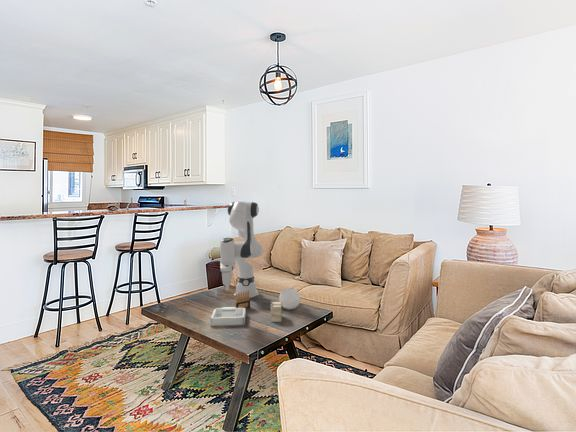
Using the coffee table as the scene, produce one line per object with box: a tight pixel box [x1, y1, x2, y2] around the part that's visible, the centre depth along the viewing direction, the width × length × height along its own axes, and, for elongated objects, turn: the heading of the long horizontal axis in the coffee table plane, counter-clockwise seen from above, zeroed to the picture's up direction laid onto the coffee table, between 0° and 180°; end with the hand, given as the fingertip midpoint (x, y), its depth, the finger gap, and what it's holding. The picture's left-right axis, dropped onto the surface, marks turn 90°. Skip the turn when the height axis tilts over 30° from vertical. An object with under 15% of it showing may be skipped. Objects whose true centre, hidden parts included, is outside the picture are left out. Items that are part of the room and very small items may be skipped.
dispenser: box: [270, 300, 282, 323], centre depth 212 cm, size 9×6×10 cm
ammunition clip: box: [234, 290, 251, 310], centre depth 231 cm, size 11×2×12 cm, turn 127°
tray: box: [210, 307, 247, 327], centre depth 210 cm, size 17×19×5 cm
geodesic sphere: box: [278, 287, 301, 311], centre depth 231 cm, size 15×14×14 cm
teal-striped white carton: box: [221, 306, 236, 317], centre depth 210 cm, size 3×8×7 cm, turn 93°
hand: (228, 288), depth 210 cm, fingers open, 8 cm apart
